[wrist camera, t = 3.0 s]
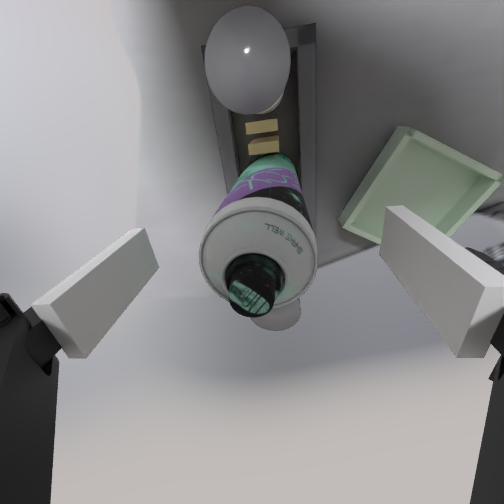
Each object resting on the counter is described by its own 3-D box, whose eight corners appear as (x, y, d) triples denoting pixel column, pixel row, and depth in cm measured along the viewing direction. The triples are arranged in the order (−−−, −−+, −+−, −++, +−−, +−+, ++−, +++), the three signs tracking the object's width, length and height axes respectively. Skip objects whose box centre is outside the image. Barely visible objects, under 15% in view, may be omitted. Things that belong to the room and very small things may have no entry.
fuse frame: (205, 50, 21) (181, 28, 16) (313, 29, 20) (325, -3, 15) (243, 269, 32) (236, 298, 27) (314, 265, 31) (321, 295, 25)
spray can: (294, 202, 27) (320, 357, 10) (245, 202, 28) (188, 348, 10) (297, 150, 24) (343, 233, 7) (244, 150, 25) (162, 228, 8)
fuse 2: (267, 222, 28) (260, 283, 18) (299, 236, 29) (310, 303, 19) (253, 250, 31) (240, 319, 20) (283, 262, 31) (286, 336, 21)
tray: (397, 125, 22) (410, 126, 20) (486, 171, 24) (507, 177, 21) (337, 219, 27) (342, 227, 25) (412, 253, 29) (423, 264, 26)
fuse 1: (249, 51, 21) (220, -14, 10) (293, 73, 21) (306, 32, 11) (233, 103, 23) (194, 92, 12) (273, 122, 23) (268, 128, 13)
